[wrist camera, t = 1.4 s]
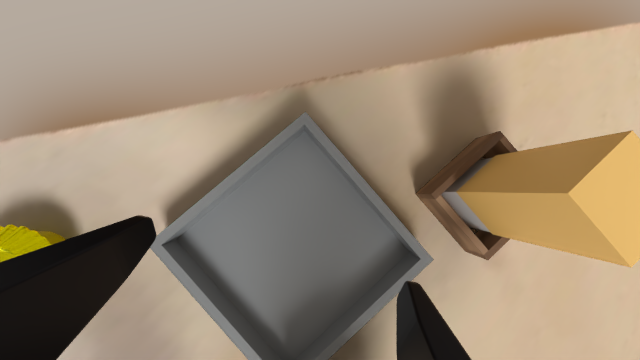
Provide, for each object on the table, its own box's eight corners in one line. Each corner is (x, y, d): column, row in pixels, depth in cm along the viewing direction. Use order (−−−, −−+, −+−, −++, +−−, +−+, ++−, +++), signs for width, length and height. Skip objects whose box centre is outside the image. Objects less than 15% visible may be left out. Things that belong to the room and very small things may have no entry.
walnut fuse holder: (524, 194, 25) (555, 195, 22) (465, 251, 24) (488, 260, 21) (476, 138, 24) (500, 131, 21) (415, 193, 24) (431, 194, 21)
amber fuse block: (503, 196, 24) (694, 202, 12) (469, 228, 24) (631, 267, 12) (471, 159, 24) (632, 130, 12) (437, 191, 24) (567, 193, 12)
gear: (-12, 230, 21) (0, 318, 21) (-78, 238, 18) (-64, 345, 18) (80, 213, 22) (93, 299, 22) (34, 217, 18) (50, 321, 18)
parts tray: (417, 250, 24) (433, 259, 21) (287, 372, 22) (284, 400, 19) (305, 121, 23) (305, 111, 20) (168, 236, 22) (146, 244, 19)
